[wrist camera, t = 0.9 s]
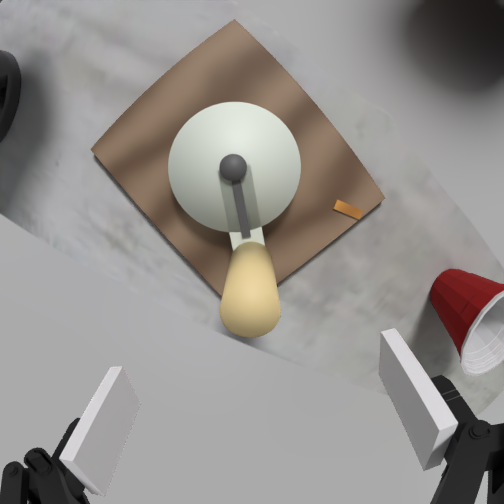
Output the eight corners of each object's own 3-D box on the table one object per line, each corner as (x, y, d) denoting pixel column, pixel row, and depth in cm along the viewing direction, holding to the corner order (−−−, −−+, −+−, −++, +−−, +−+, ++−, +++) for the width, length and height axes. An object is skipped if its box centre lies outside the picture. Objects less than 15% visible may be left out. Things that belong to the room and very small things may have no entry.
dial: (163, 120, 28) (111, 104, 16) (286, 95, 27) (305, 61, 16) (198, 282, 33) (173, 347, 22) (312, 263, 32) (341, 322, 21)
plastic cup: (440, 339, 37) (483, 391, 25) (398, 300, 35) (445, 356, 23) (489, 279, 34) (542, 318, 23) (452, 232, 32) (516, 266, 21)
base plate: (94, 149, 30) (89, 149, 29) (235, 22, 26) (234, 18, 25) (238, 309, 35) (237, 314, 34) (381, 196, 31) (386, 198, 30)
